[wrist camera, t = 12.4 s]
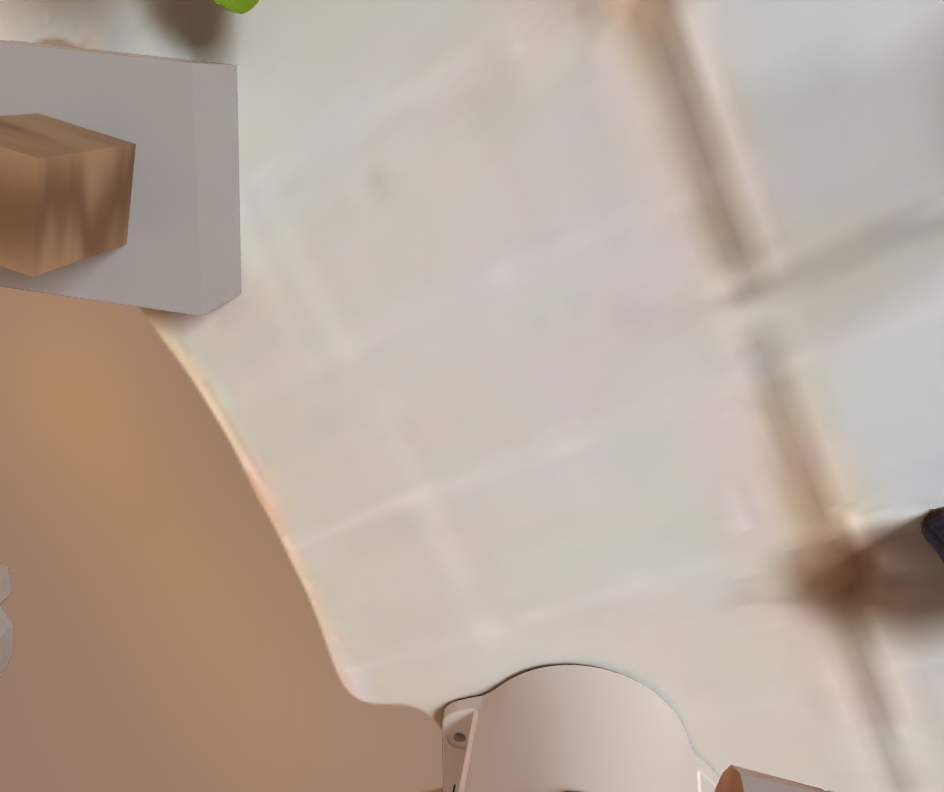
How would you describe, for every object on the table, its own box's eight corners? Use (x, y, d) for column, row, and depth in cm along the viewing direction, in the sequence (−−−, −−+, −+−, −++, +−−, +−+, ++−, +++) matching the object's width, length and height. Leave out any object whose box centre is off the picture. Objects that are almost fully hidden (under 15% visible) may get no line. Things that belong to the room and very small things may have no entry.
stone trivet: (244, 291, 45) (202, 316, 40) (50, 264, 46) (-11, 284, 41) (239, 65, 40) (191, 63, 35) (24, 41, 41) (-48, 37, 37)
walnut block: (126, 244, 39) (33, 276, 33) (34, 214, 39) (-77, 241, 33) (135, 143, 37) (38, 158, 31) (38, 113, 37) (-79, 121, 31)
